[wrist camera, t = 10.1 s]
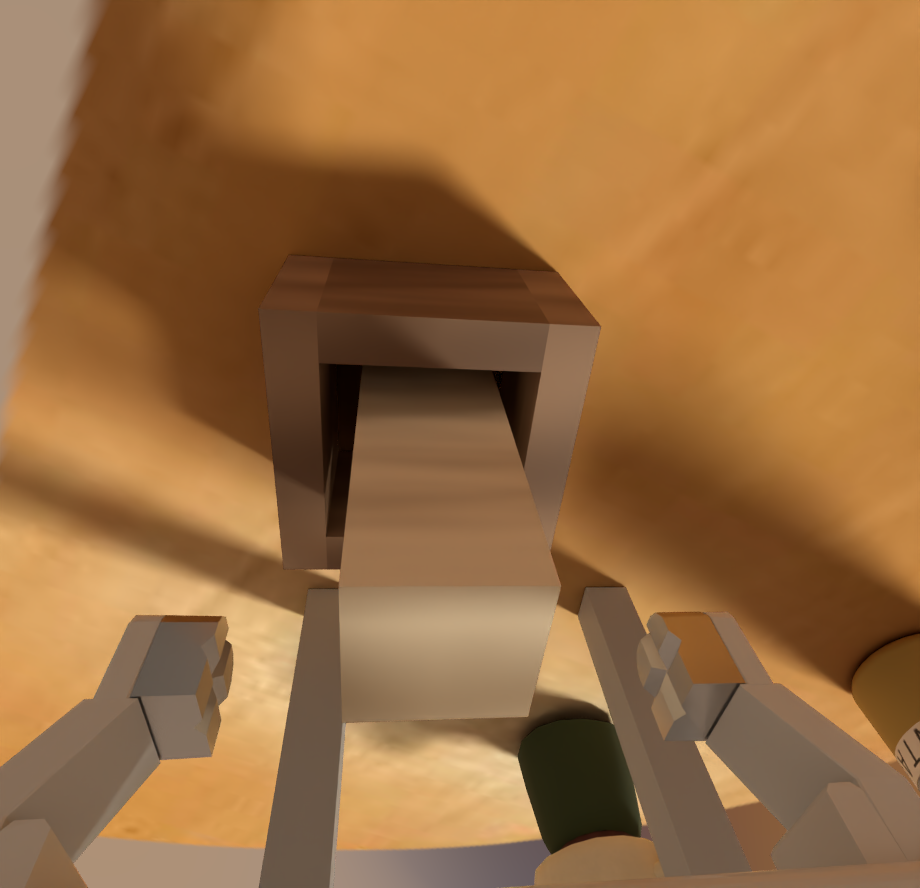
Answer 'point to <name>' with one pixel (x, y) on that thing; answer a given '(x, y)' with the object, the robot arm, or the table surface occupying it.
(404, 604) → the peg
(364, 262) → the socket
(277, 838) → the u-shaped bar frame
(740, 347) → the table surface
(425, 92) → the table surface
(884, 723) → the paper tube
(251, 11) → the table surface
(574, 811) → the character mug
